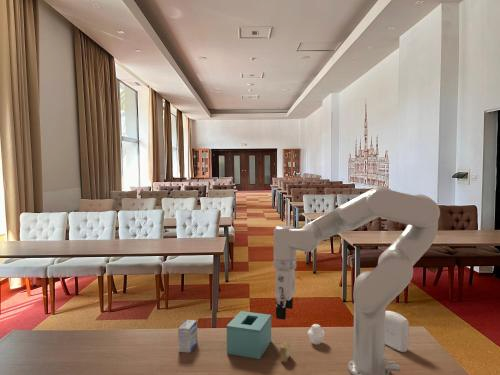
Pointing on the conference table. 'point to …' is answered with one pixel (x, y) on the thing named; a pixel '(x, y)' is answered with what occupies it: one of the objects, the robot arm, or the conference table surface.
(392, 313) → the photo printer
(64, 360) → the conference table surface
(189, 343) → the medicine box
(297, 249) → the robot arm
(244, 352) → the teal slotted box
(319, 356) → the conference table surface
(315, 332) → the white carved egg
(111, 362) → the conference table surface
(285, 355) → the tan wooden brick
